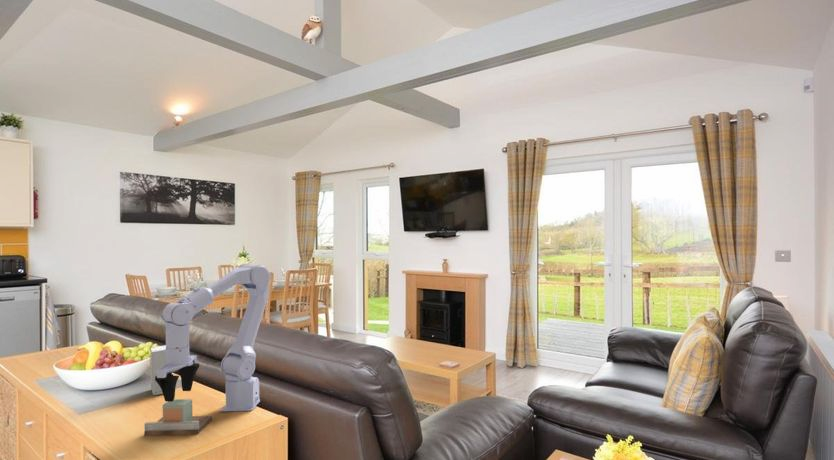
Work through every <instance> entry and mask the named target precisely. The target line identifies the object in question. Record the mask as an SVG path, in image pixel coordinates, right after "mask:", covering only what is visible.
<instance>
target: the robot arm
mask: <svg viewBox="0 0 834 460" xmlns="http://www.w3.org/2000/svg"><path fill="white" fill-rule="evenodd" d="M271 277H272V274H271V273H270V271H269V269H268V268H267V266H265V265H264V264H248V263H243V264H240V265H239V266H238V267H234V268H233V269H232V270H231V271H230V272H228V273H227V274H225V275H223V276H222V277H221V278H220V279H218V280H217V281H214V283H212V284H211V285H209V286H208V287H204V286H200V287H197V286H196V287H195V288H193V289H192V290H193V291H191V292H190V293H188V294H187V295H185V296H184V297H179V298H178V299H177V300H178V301H177V302H170V303H168V304H166V306H165V307H164V308H163V309H162V313H160V318H161V320H162V321H163V322H164V324H165V345H166V364H165V365H164V366H163V367H162V368H161V369H159V370H157V376H155V381H156V382H157V383H158V384H159V386H160V388H161V390H162V393H163V394H162V396H163V399H164V401H165V403H166V402H172V401H174V399H175V398H176V397H175V396H176V387H177V382H178V380H179V377H180V380H181V381H180V383H181V390H182V392H191V391H192V387H193V384H194V380H195V377H196V373H197V371H198V369H199V368H200V363H196V362H197V361H198V359H197V358H198V355H196V354H190V323H191V321H192V320H193V318H194V316H195V315H196V314H198V313H200V312H201V311H203V310H204V309H205V308H207V307H209V306H210V305H212V304H213V303H214V300H215V297H216V296H218V295H220V294H223V293H224V292H226V291H227V290H229V289H231V288H232V287H234V286H236V285H241V286H242V287H244V288H245V289H246V290H247V292H248V294H249V300H248V302H247V306H246V308H245V310H244V314H243V316H242V317H243V318H242V321H241V323H240V327H239V330H238V332H237V336H236V339H235V342H234V344H233V345H232V346H231V347H230V348H228V350H227V353H226V355H224V357H223V359H222V360H221V362H220V370H221V372H222V373H223V374H224V378H225V381H224V382H225V405H224V406H223V407H222V408H221V409H220V412H245V411H246V412H247V411H253V410H254V409H255V408H256V407H257V405H258V404H259V403H260V402H261V399H260V380H259V378H258V377H256V376H255V377H254V376H252V375H253V374H254V372H255V370H256V358H257V353H256V352H255V350H254V345H255V341H256V338H257V335H258V331H259V328H260V325H261V322H262V318H263V315H264V312H265V309H266V305H267V302H268V299H269V296H270V280H271ZM177 371H178V372H179V375H174V374H173V373H174V372H177Z"/></svg>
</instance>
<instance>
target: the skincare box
mask: <svg viewBox="0 0 834 460" xmlns="http://www.w3.org/2000/svg"><path fill="white" fill-rule="evenodd" d="M149 356H150V384H151V385H150V387H151V393H152V395H153V396H158V395H163V393H162V390H161V388H160V386H159V384H158V383H157V382H156V381H155V376H157V370H159V369H161V368H162V367H163V366H164V365H165V364H166V344H165V345H158V346H154V347H150V354H149Z"/></svg>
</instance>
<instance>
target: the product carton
mask: <svg viewBox="0 0 834 460" xmlns="http://www.w3.org/2000/svg"><path fill="white" fill-rule="evenodd" d="M192 416H193V399H189V398H188V399H183V398H182V399H180V398H178V399H177V398H176V399H175V398H174V401H172V402H166V401H165V403H163V404H162V417H163V422H174V421H193V418H192Z"/></svg>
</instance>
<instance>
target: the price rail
mask: <svg viewBox="0 0 834 460" xmlns="http://www.w3.org/2000/svg"><path fill="white" fill-rule="evenodd" d="M143 426H144V431H165V430H198V429H199V421H174V422H157V421H150V422H149V421H146V422H144V425H143Z"/></svg>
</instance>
